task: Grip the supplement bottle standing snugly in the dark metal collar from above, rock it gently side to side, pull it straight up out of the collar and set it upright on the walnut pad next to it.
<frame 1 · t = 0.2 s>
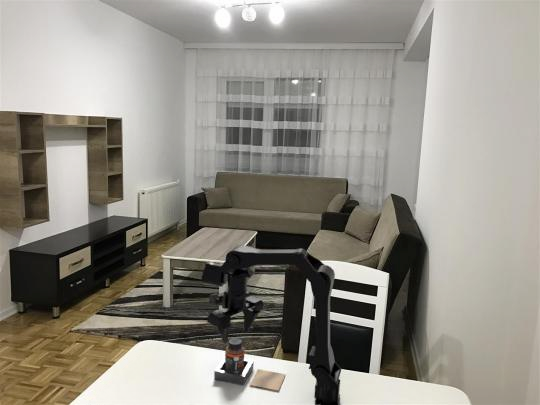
hand: (235, 337, 137), 14 cm above the table, tool pointing down, fingers open, 9 cm apart
supplement bottle: (234, 374, 143), resting in collar
collar: (234, 374, 143), on the table
pad: (267, 380, 140), on the table
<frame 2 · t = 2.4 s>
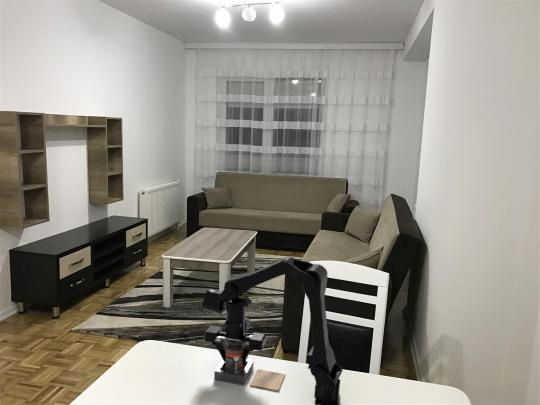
hand: (234, 362, 142), 4 cm above the table, tool pointing down, fingers closed on supplement bottle, 6 cm apart
supplement bottle: (234, 374, 143), resting in collar, touching gripper
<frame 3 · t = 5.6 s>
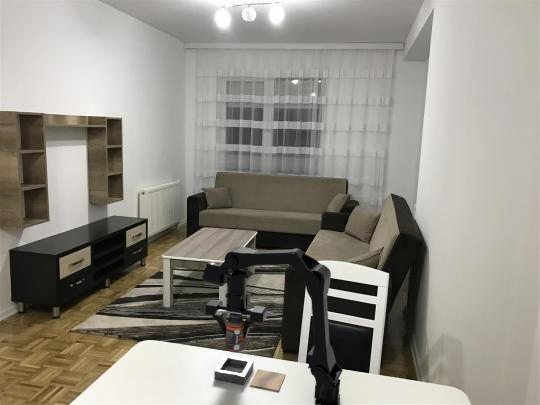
hand: (235, 336, 141), 13 cm above the table, tool pointing down, fingers closed on supplement bottle, 6 cm apart
supplement bottle: (235, 349, 141), point 9 cm above the table, touching gripper
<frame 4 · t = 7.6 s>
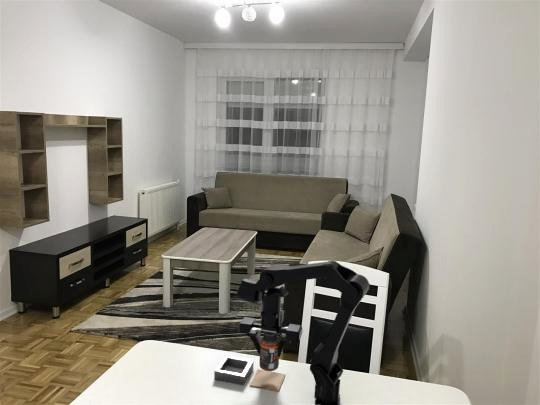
hand: (269, 354, 139), 9 cm above the table, tool pointing down, fingers closed on supplement bottle, 6 cm apart
supplement bottle: (268, 367, 139), point 5 cm above the table, touching gripper
when the fingers open (6 cm above the table, at t = 9.2 s): supplement bottle drops 1 cm, resting on pad.
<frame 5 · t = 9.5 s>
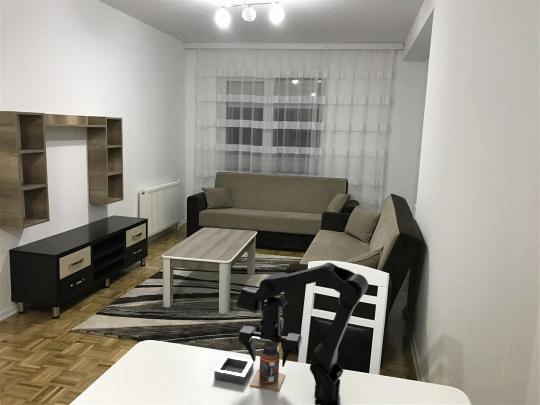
hand: (268, 363, 139), 6 cm above the table, tool pointing down, fingers open, 9 cm apart
supplement bottle: (268, 380, 140), resting on pad
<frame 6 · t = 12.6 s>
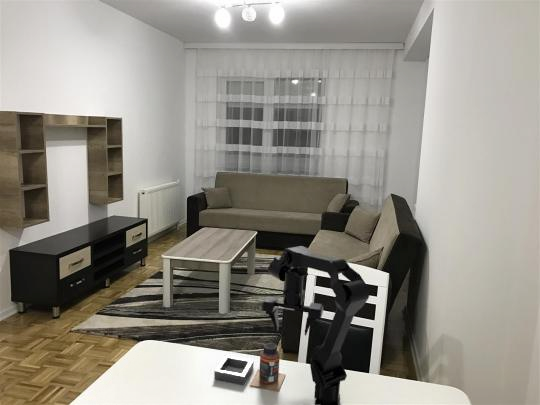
hand: (291, 332, 144), 13 cm above the table, tool pointing down, fingers open, 9 cm apart
nothing on the table moved.
at the end: supplement bottle 0.2 cm from the pad (horizontally); supplement bottle tilted 0°; supplement bottle touching pad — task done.
